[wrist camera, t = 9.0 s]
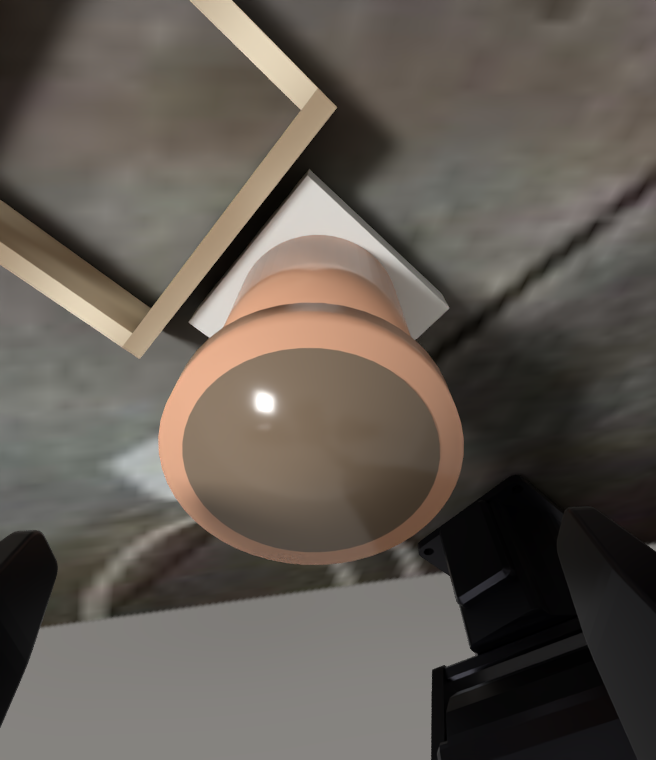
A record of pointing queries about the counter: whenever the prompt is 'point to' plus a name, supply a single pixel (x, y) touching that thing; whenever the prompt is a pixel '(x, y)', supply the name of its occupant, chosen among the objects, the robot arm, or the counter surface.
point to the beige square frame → (143, 324)
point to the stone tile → (333, 218)
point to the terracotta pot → (312, 414)
